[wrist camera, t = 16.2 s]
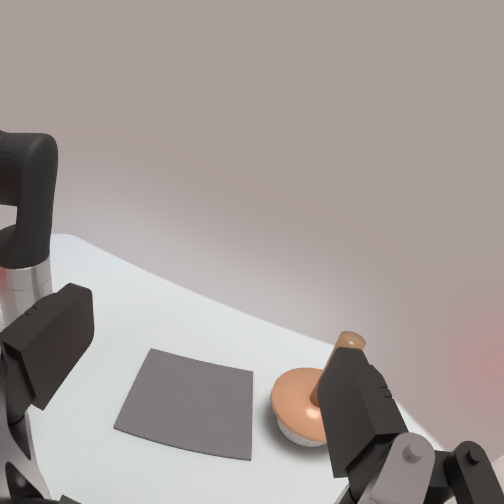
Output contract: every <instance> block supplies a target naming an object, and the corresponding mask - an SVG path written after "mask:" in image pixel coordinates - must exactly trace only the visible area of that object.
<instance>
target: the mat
mask: <svg viewBox="0 0 504 504" xmlns="http://www.w3.org/2000/svg"><path fill="white" fill-rule="evenodd" d="M252 400H253V371H247V370H242V369H237V368H231V367H226V366H222V365H217V364H212V363H208V362H203V361H199V360H194V359H190V358H186V357H182V356H178V355H174V354H171V353H167V352H163V351H160V350H156V349H152V348H151V349H150V351H149V353H148V355H147V357H146V359H145V361H144V363H143V365H142V367H141V369H140V371H139V373H138V375H137V377H136V379H135V381H134V383H133V385H132V387H131V390H130V392H129V394H128V396H127V398H126V400H125V402H124V405H123V407H122V409H121V411H120V413H119V415H118V418H117V420H116V422H115V424H114V429H117V430H120V431H122V432H125V433H128V434H131V435H134V436H137V437H140V438H144V439H147V440H150V441H154V442H157V443H161V444H164V445H168V446H172V447H176V448H180V449H184V450H189V451H193V452H198V453H203V454H209V455H214V456H220V457H226V458H233V459H240V460H249V461H251V449H252Z"/></svg>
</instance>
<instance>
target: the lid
mask: <svg viewBox="0 0 504 504" xmlns="http://www.w3.org/2000/svg"><path fill="white" fill-rule="evenodd" d="M365 345H366V342H365V340H364V338H363V337H361V336H360V335H358V334H357V333H354V332H350V331H344V332H342V333H341V334H340V336H339V338H338V341H337V343H336V345H335V347H334V349H333V351H332V353H331V355H330V357H329V359H328V361H327V363H326V366H325V368H324V370H321V369H315V368H297V369H293V370H290V371H287V372H285V373H284V374H282V375H281V376H280V377H279V378H278V379H277V380H276V382H275V384H274V386H273V388H272V391H271V397H270V400H271V406H272V409H273V411H274V413H275V415H276V417H277V418H278V420H279V421H280V422H281V423H282V424H283V425H284V426H285V427H286V428H287V429H289V430H290V431H291V432H293V433H294V434H296V435H298V436H300V437H302V438H305V439H308V440H311V441H315V442H324V443H327V440H326V435H325V431H324V426H323V421H322V416H321V412H320V407H319V402H318V397H317V390H318V385H319V382H320V379H321V377H322V375H323V374H324V372H325V370H326V368H327V366H328V364H329V362H330V360H331V358H332V356H333V354H334V352H335V350H336V349H337V348H338V347H348V348H357V349H361V350H363V349H364V347H365Z"/></svg>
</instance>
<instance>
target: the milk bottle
mask: <svg viewBox="0 0 504 504" xmlns="http://www.w3.org/2000/svg"><path fill="white" fill-rule="evenodd" d="M491 466H492V468H493V470H494V472H495V474H496V477H497V479H498V481H499V484H500V486H501V488H502V491H503V493H504V454H503V455H502V456H500V457H499V458H498V459H496V460H495V461H494V462H493V463H492V464H491ZM444 504H457V502H456V499H455V496H454V497H452V498H451V499H449V500H448V501H446V502H445V503H444Z"/></svg>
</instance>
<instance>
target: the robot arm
mask: <svg viewBox="0 0 504 504" xmlns="http://www.w3.org/2000/svg"><path fill="white" fill-rule="evenodd" d="M57 168H58V149H57V144H56V141H55V139H54V138H53V137H52V136H50V135H49V134H43V133H7V132H3V131H1V130H0V204H2V205H10V206H17V219H16V224H15V225H12V226H9V227H6V228H4V229H2V230H0V305H1V309H2V313H3V318H4V322H5V325H6V328H5V329H4V330H3V331H2V332H1V333H0V504H81V503H78V502H76V501H74V500H72V499H70V498H68V497H66V496H64V495H62V496H61V499H60V501H57V500H52V499H51V496H50V493H49V490H48V487H47V485H46V483H45V480H44V478H43V476H42V475H41V473H40V470H39V468H38V465H37V461H36V456H35V451H34V446H33V441H32V435H31V428H30V421H29V414H28V411H27V409H28V407H29V406H30V404H32V405H34V406H36V407H37V408H39V409H41V410H44V409H45V407H46V406H47V404H48V403H49V401H50V400H51V398H52V397H53V396H54V394H55V393H56V391H57V390H58V388H59V387H60V385H61V384H62V383H63V381H64V380H65V378H66V377H67V376H68V374H69V373H70V371H71V370H72V369H73V367H74V366H75V365H76V363H77V362H78V361H79V359H80V358H81V356H82V355H83V354H84V352H85V351H86V350H87V348H88V347H89V346H90V344H91V342H92V340H93V336H94V317H93V300H92V292H91V290H90V289H88V288H85V287H82V286H79V285H76V284H73V283H68V284H67V285H66V286H64V287H63V288H62V289H61V290H59V291H58V292H57V293H53V291H52V281H51V269H50V236H51V228H52V213H53V200H54V192H55V184H56V176H57ZM387 388H388V386H387V384H386V382H385V380H384V378H383V376H382V375H381V374H380V373H379V372H378V371H377V370H376V369H375V367H374V366H373V365H369V363H368V361H367V359H366V357H365V355H364V353H363V351H362V350H361V349H357V348H348V347H338V348H337V349H336V350H335V352H334V354H333V356H332V358H331V360H330V362H329V364H328V366H327V368H326V370H325V372H324V374H323V375H322V377H321V379H320V382H319V385H318V390H317V397H318V402H319V407H320V412H321V416H322V421H323V426H324V431H325V435H326V440H327V445H328V450H329V455H330V460H331V466H332V471H333V476H334V478H343V477H348V480H349V484H348V485H346V487H345V488H344V489H343V491H342V493H341V494H340V496H339V497H338V499H337V500H336V502H335V503H334V504H444V503H445V502H446V501H448V500H449V499H451V498H452V497H454V496H455V499H456V502H457V504H504V493H503V491H502V488H501V486H500V484H499V481H498V479H497V477H496V474H495V472H494V470H493V468H492V466H491V463H490V461H489V459H488V457H487V455H486V453H485V451H484V450H483V449H482V448H481V446H479V445H478V444H476V443H475V442H472V441H465V442H462V443H460V444H459V445H458V447H456V448H455V449H454V451H452V452H445V451H436V450H434V449H433V447H432V445H431V444H430V442H429V441H428V440H427V439H425V438H424V437H423V436H421V435H419V434H416V433H409V431H408V429H407V427H406V425H405V422H404V420H403V418H402V416H401V414H400V411H399V409H398V407H397V405H396V403H395V401H394V399H392V394H391V392H390V390H389V389H387Z"/></svg>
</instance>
